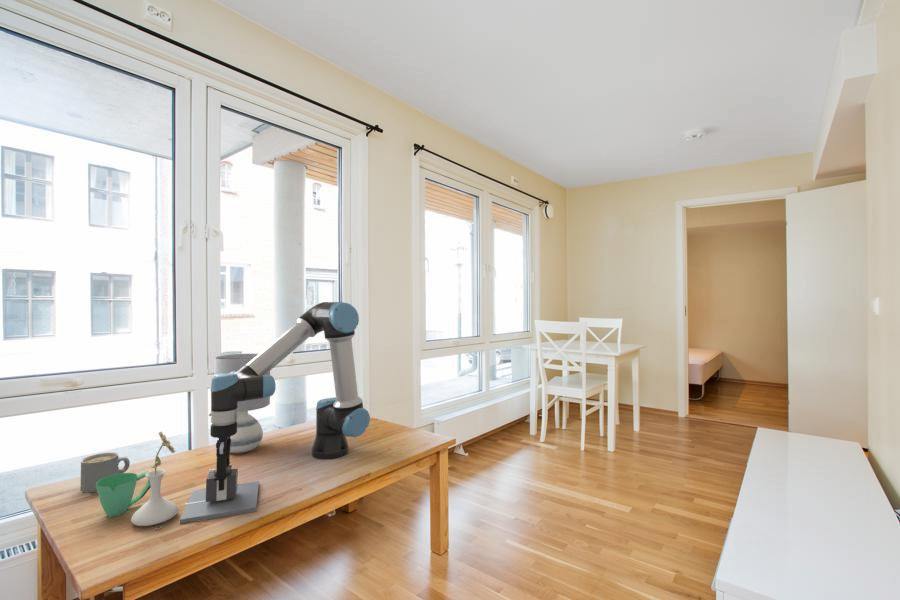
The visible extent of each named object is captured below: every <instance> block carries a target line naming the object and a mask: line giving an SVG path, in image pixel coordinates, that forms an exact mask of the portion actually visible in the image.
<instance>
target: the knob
mask: <svg viewBox="0 0 900 600" xmlns="http://www.w3.org/2000/svg"><path fill="white" fill-rule="evenodd" d="M216 469H217V467H216V468H210V469H208V470H207V471H208V473H207V477H206V481H205V482H206V483H205V489H206V502H210V501H216V497H217V480H216V481H214V479H215V478H216ZM238 471H239V470H238V468H231V467H230V465H229V466H227V470H226V476H227V498H226V499H231V498H236V493H237V484H238V473H239V472H238Z"/></svg>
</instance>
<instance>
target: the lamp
mask: <svg viewBox="0 0 900 600" xmlns="http://www.w3.org/2000/svg"><path fill="white" fill-rule="evenodd" d="M258 354H259V353H236V354H235V353H231V354H224V355H219V356H216V357H214V360H213V361H214V363H213V364H214V365H213V368H214V371H213V372H214V373H213V374H214V375H217V374H221V373H230V372H233V371H237V370H240V369H241V368H242V367H243V366H245V365H246V364H247V363H248V362H250V361H251V360H252V359H253V358H255V357H256V356H257V355H258ZM214 375H213V376H214ZM266 375H271V370H270V371H269V372H268V373H267V374H266ZM270 404H271V396H270V397H266V398H260V399H253V400H246V401H240V402H238V405H237V406H238V407H237V408H238V416H237V420H236V422H237V433H236V434H235V435H233V436H230V439H231V444H230V453H231V454H244V453H248V452H251V451H254V450H255V449H256V448H257V447H259V445H260V444H261V443H262V441H263V436H264V435H263V434H264V431H263V428H262V425H261V423H260V421H259V420H257V419H256V418H255V417H254V416H253V415H252V414H249V411H254V410H259V409H263V408H266V407H268V406H270Z"/></svg>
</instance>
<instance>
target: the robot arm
mask: <svg viewBox="0 0 900 600" xmlns="http://www.w3.org/2000/svg"><path fill="white" fill-rule="evenodd" d="M359 322H360V317H359V313H358V311H357V309H356V308H355V307H354V306H353V305H352V304H350V303H347V302H343V301H332V302H331V301H329V302H327V301H325V302H320V303H318V304H317V303H316V304H315V305H314V306H312V307H311V308H309V309H307V310H306V311H305V312H304V313H303V314H301V315H300V316H299V317H298V318H297V319H296V323H295V324H293V325H292V326H291V327H290V328H288V329H287V330H286V331H285V332H284V333H283V334H281V335H280V336H279V337H277V338H276V339H275V340H274V341H273V342H271V343H270V344H269V345H268V346H267V347H265V348H264V349H263V350H262V351H261V352H259V353H257V354H258V355H257V356H256V357H255V358H253V359H252V360H251V361H250V362H248V363H247V364H246V365H245V366H243V367H242V368H241V369H240V370H237V371H233V372H230V373H221V374H217V375H213V376H212V378H211V384H210V385H211V386H210V387H211V388H210V399H211V400H210V404H211V405H210V412H209V413H208V416H209V417H210V423H211V424H210V429H209V431H210V432H209V433H210V437H212V438H215V439H216V438H217V441H216V442H215V448H216V450H215V451H216V454H215V455H216V468H217V469H216V468H215V469H216V478H215V479H214V481H216V480H217V497H216V501H219V500H226V498H227V476H226V470H227V466H230V467H231V469H233V468H232V466H233V465H230V464H231V462H230V459H231V458H230V457H231V454H230V444H231V439H230V436H233V435H235V434H236V433H237V422H236V420H237V416H238V408H237V407H238V406H237V405H238V402H240V401H246V400H253V399H260V398H266V397H270V398H271V397H272V396H274V394H275V392H276V388H277V387H276V385H277V384H276V380H275V378H274V376H272V375H271V374H270V375H266V374H267V373H268V372H269V371H270V372H271V370H273V369H274V368H275V367H276V366H277V365H279V364H280V363H281V362H282V361H283V360H284V359H285V358H287V357H288V356H289V355H290V354H291V353H292V352H294V351H295V350H297V348H298V347H299V346H301V345H302V344H303V343H305V342H306V340H308V339H309V338H314V337H315V336H316V335H317V334H319V333H321V332H323V334H324V338H325V340H327V341H328V342H329V349H330V357H331V365H332V372H333V373H332V374H333V375H332V376H333V382H334V383H333V384H334V391H335V397H334V396H333V397H327V398H322V399H320V400H318V401H317V403H316V408H315V410H316V416H315V417H316V418H315V420H316V425H315V427H316V433H315V438H314V441H313V444H312V448H311V456H312V457H314V458H316V459H322V460H327V459H328V460H329V459H337V458H340V457H341V458H342V457H343V456H345V455H347V454H348V453H349V450H350V449H349V447H350V446H349V444H348V440H347V437H350V438H356V437H360V436H361V435H362V434H364V433H365V432H366V430H367V429H368V427H369V425H370V420H371V416H370V413H369V411H368V410H367V409H366V408H364V404H363V399H362V398H361V397H360V396H359V393H358V384H357V383H358V382H357V375H356V368H355V359H354V357H355V356H354V349H353V348H354V347H353V340H352V339H353V337H354V336H355V335H356V332H355V330H356V329H357V328H358V325H359Z"/></svg>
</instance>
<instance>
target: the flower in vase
mask: <svg viewBox="0 0 900 600" xmlns="http://www.w3.org/2000/svg"><path fill="white" fill-rule="evenodd" d="M158 435H159V437H160V439H161V441H162V443H161V445H160V447H159V449H158V451H157V453H156V455H155V460H154V465H153V466H152V467H151V469H153V470H151V471H149V472H148V473H146V474H145V476H146V477H145V478H147V480H148V479H149V481H150V485H151V487H150V497H149V498H148V500H147V501H146V502H145V503H144V504H143V505H141V506H140V507H139V508H138V509H137V510H136V511H135V512H134V513H133V514H132V516H131V518H130V523H132V525H135V526H139V527H149V526H154V525H159V524H161V523H164V522H167V521H168V520H170V519H172V518H173V517H175V516H176V514H178V511H179V507H178V505H177V504H176V503H175V502H173V501H171V500H169V499H166V498H164V497H163V496H162V495H161V484H162V479H163V477H164V475H165V474H166V472H167V470H166V469H157V467H159V466H161V465H162V460H161V459H160V456H159V455H160V454H159V453H160V451H161V450H162V447H166V448H167V450H168V451H169V452H170V453H171V454H174V453H176V451H175V448H174V447H173V446H172V445H171V442H170V440H167V436H166V435H165V434H164V433H163V431H161V430H160V431H159V432H158Z"/></svg>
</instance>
